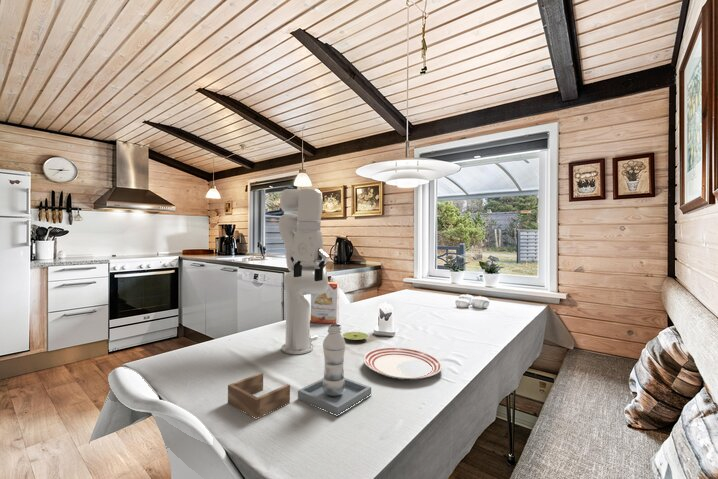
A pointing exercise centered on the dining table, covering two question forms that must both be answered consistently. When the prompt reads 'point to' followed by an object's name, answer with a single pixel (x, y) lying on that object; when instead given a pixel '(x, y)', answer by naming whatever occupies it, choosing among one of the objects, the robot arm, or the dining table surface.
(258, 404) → the walnut bay
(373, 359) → the dinner plate
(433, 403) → the dining table surface
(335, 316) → the cracker box
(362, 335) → the mat
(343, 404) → the grey square tray
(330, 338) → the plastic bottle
